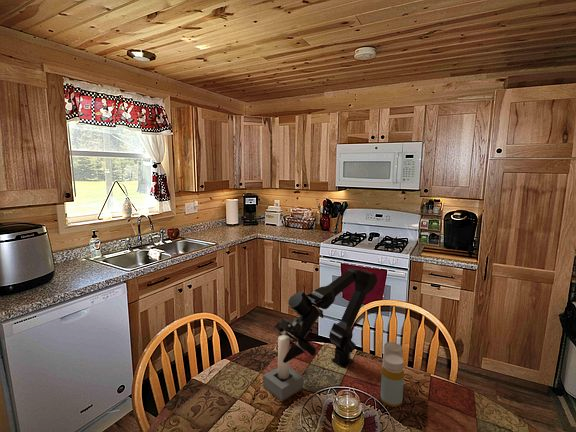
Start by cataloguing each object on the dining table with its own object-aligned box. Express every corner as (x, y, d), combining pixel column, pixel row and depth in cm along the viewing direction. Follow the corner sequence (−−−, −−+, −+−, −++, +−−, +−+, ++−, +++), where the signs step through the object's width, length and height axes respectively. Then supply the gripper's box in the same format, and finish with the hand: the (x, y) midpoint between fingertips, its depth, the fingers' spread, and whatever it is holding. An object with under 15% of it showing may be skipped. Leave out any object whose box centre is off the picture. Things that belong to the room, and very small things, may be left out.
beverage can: (404, 388, 114) (407, 348, 112) (391, 394, 110) (394, 353, 109) (390, 377, 119) (392, 340, 117) (377, 383, 116) (379, 344, 114)
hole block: (283, 375, 120) (284, 363, 119) (302, 388, 112) (303, 376, 112) (263, 386, 113) (263, 374, 112) (281, 401, 106) (282, 389, 105)
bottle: (403, 409, 103) (406, 366, 101) (381, 406, 105) (383, 363, 103) (400, 395, 110) (403, 354, 108) (379, 392, 111) (381, 352, 109)
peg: (287, 371, 115) (287, 334, 113) (290, 377, 111) (291, 340, 109) (276, 373, 114) (276, 336, 112) (279, 380, 110) (280, 341, 108)
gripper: (278, 301, 119) (252, 337, 114) (310, 320, 104) (281, 362, 99) (295, 316, 125) (271, 351, 120) (327, 336, 109) (301, 377, 105)
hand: (280, 359), depth 111 cm, fingers closed on peg, 4 cm apart
